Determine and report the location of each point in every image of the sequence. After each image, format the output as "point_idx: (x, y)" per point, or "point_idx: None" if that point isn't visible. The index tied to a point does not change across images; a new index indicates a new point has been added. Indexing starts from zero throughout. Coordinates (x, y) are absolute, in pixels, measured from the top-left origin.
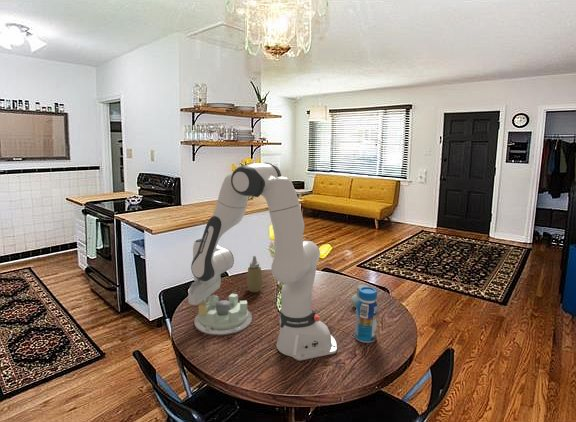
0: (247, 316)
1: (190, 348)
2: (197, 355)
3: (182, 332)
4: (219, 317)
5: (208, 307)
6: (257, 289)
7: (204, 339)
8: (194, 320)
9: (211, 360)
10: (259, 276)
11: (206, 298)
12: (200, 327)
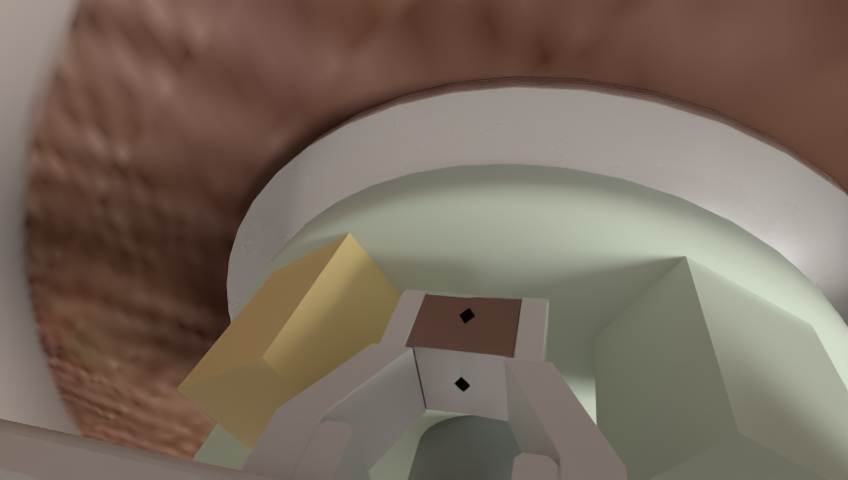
0: None
1: (80, 313)
2: (88, 368)
3: (111, 145)
4: (381, 460)
5: (555, 291)
6: None
7: (200, 348)
8: (295, 160)
9: (127, 427)
10: None
11: (531, 431)
12: (246, 288)
